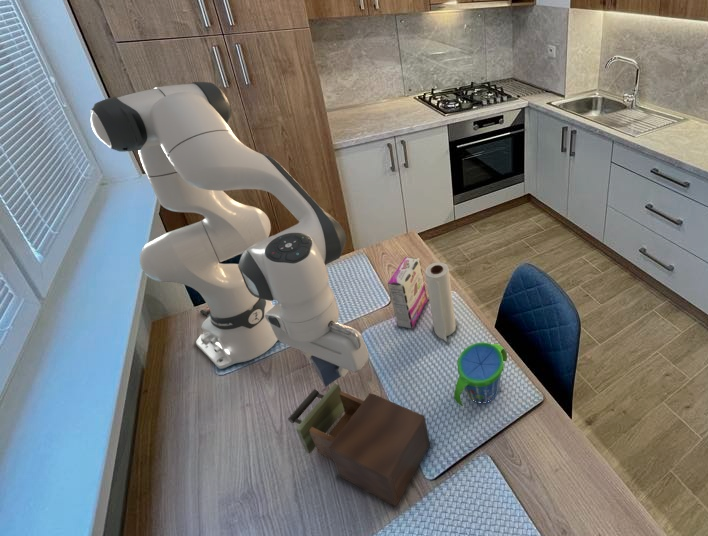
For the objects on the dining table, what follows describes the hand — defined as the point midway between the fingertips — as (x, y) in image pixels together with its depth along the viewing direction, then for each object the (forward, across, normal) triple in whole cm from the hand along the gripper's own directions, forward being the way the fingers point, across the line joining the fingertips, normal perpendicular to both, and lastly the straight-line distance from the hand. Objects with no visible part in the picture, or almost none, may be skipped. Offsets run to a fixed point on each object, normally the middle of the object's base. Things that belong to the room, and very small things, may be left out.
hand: (329, 367), depth 80 cm
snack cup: (+21, -23, -19) cm, 37 cm away
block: (+2, 0, 0) cm, 2 cm away
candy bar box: (+21, +7, -33) cm, 40 cm away
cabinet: (+21, -11, +2) cm, 24 cm away
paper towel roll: (+21, -5, -31) cm, 38 cm away
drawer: (+20, +2, +2) cm, 20 cm away
